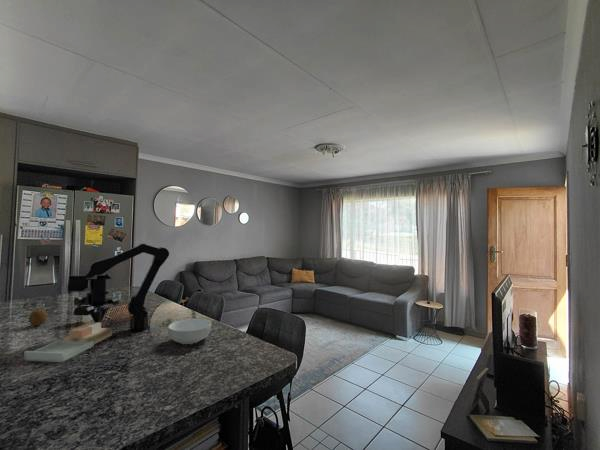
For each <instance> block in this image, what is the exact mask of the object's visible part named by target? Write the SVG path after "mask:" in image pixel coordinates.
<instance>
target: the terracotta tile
mask: <svg viewBox="0 0 600 450" xmlns="http://www.w3.org/2000/svg"><path fill="white" fill-rule="evenodd" d="M91 330H92V326H82V325H79V326H77V327H74V328H72V329H69V334H70V335H69V334H68V335H69V338H83V337H86V336H88V335H90V334H91Z"/></svg>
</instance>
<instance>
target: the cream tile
mask: <svg viewBox="0 0 600 450" xmlns="http://www.w3.org/2000/svg"><path fill="white" fill-rule="evenodd" d="M81 326H92V330H91V334H92V333H95V332H97V331H99V330H101V328H102V322H101V323H98V322H89V323H83V324H82V325H81Z"/></svg>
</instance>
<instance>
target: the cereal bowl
mask: <svg viewBox="0 0 600 450" xmlns="http://www.w3.org/2000/svg"><path fill="white" fill-rule="evenodd" d="M167 329H168V330H167V331H168V333H167V334H168V336H169V337H170V339H171V340H172V341H174V342H176V343H180V344H181V345H184V344H185V345H186V344H190V345H194V344H193V343H195V344H197V343H199V342H200V341H202V340H204V339H206V337H208V336H209V335H210V332H211V331H212V322H211V321H210V320H209V319H205V318H188V319H182V320H177V321H174V322H172V323H170V324H169V325H168V328H167Z"/></svg>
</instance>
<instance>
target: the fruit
mask: <svg viewBox="0 0 600 450" xmlns="http://www.w3.org/2000/svg"><path fill="white" fill-rule="evenodd" d="M47 317H48V315H47V312H46V311H45V310H44V309H40V308H37V309H35V310H33V311H31V312H30V314H29V317H28V321H29V323H30V325H31V326H35V327H39V326H41V325H43V324H45V322H46V321H47Z"/></svg>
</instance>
